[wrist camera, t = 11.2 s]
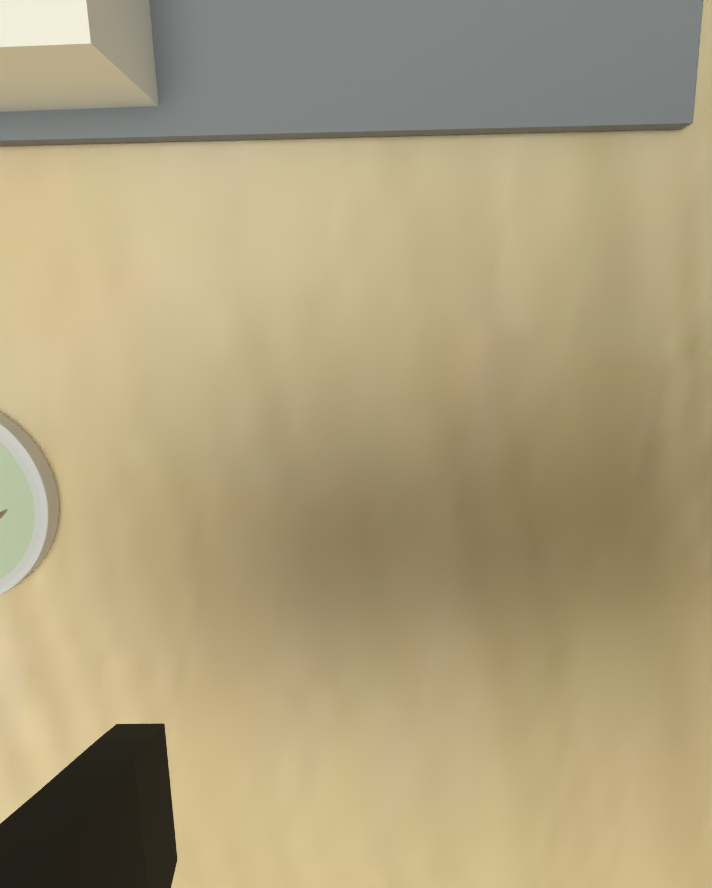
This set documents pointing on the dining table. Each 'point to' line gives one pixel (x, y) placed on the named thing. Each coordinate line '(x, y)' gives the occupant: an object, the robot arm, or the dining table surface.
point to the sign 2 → (24, 504)
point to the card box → (76, 55)
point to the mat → (397, 71)
